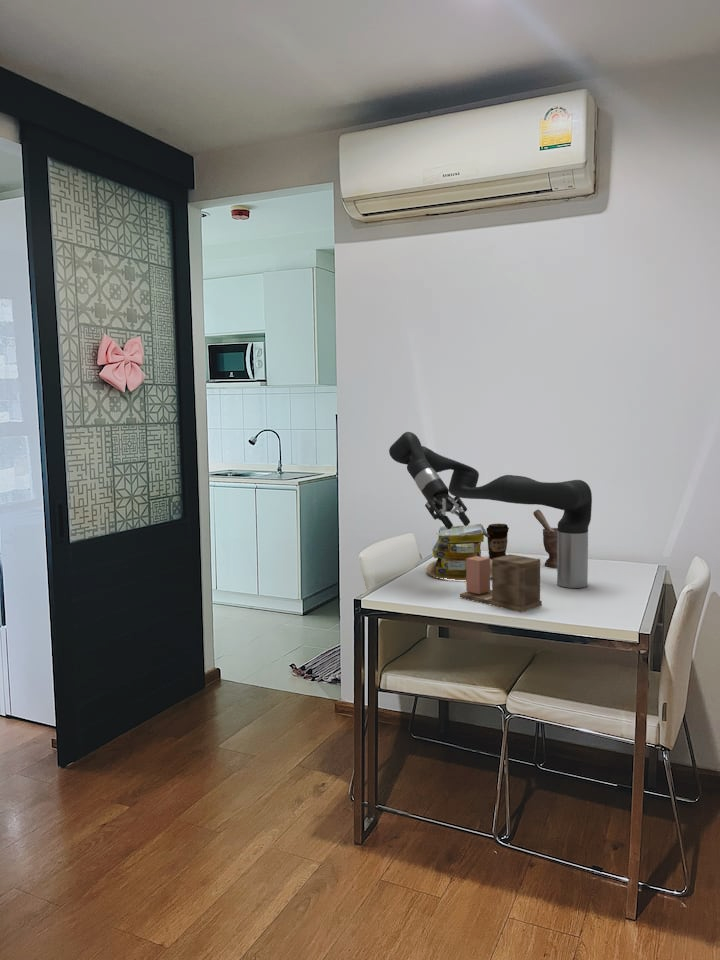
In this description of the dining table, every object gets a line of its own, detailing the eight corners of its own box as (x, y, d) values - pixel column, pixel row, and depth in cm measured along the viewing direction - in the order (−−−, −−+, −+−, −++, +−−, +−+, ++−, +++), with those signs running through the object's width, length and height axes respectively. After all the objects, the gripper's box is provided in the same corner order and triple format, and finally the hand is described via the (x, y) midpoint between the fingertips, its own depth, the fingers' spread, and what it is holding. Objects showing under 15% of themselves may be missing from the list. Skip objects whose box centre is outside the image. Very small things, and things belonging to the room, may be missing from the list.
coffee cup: (513, 560, 268) (513, 525, 266) (491, 562, 266) (491, 527, 265) (503, 556, 276) (503, 522, 275) (482, 557, 274) (482, 523, 273)
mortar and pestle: (537, 568, 254) (537, 512, 252) (531, 563, 262) (531, 508, 260) (570, 568, 254) (570, 511, 252) (564, 562, 262) (564, 508, 260)
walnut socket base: (459, 597, 218) (459, 553, 217) (480, 591, 224) (480, 548, 223) (520, 612, 202) (520, 564, 200) (541, 605, 208) (541, 558, 207)
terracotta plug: (466, 591, 219) (466, 558, 218) (476, 588, 222) (476, 556, 221) (479, 594, 215) (479, 560, 214) (490, 591, 219) (489, 558, 218)
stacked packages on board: (491, 584, 233) (491, 533, 232) (417, 579, 243) (416, 529, 241) (506, 568, 256) (506, 521, 254) (438, 563, 265) (438, 518, 264)
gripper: (440, 491, 237) (467, 530, 229) (409, 495, 227) (437, 536, 220) (452, 475, 232) (481, 515, 225) (421, 479, 223) (450, 521, 215)
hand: (459, 525), depth 222 cm, fingers open, 7 cm apart
